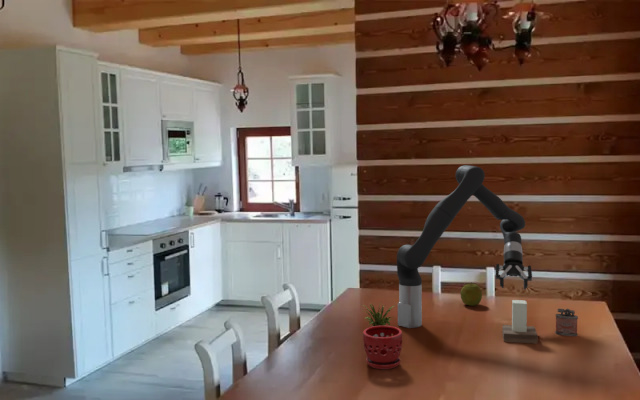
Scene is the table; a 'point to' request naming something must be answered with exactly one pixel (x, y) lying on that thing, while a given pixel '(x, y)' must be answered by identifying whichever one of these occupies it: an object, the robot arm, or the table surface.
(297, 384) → the table surface
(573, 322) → the lighter
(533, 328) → the walnut base
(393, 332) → the plant pot
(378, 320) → the house plant
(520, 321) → the sage pillar
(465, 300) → the apple
